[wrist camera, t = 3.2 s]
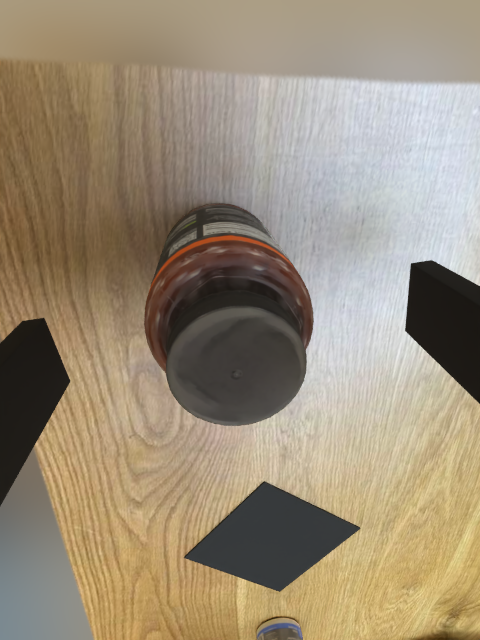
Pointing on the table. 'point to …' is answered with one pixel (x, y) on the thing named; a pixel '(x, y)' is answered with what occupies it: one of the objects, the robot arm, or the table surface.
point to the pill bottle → (279, 630)
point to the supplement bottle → (228, 317)
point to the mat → (271, 538)
